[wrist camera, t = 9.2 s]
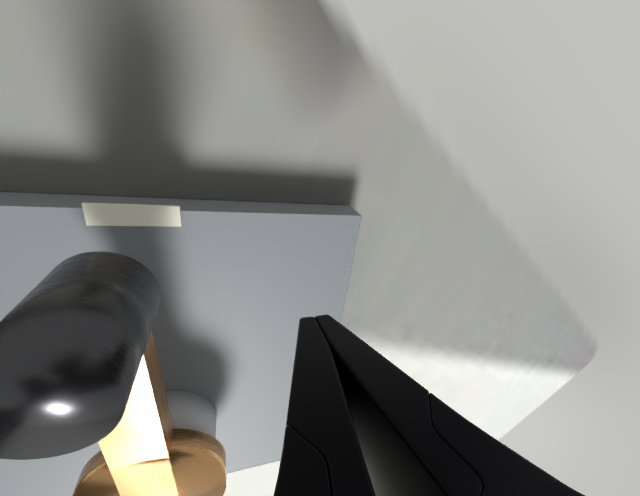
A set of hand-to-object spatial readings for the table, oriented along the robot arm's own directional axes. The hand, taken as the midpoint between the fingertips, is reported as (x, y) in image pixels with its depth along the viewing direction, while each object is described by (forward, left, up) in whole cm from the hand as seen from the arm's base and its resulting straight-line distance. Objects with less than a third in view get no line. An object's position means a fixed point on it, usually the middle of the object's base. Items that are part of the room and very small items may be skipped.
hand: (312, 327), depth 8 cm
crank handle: (-6, -6, -3) cm, 9 cm away
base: (-5, -7, -7) cm, 11 cm away
